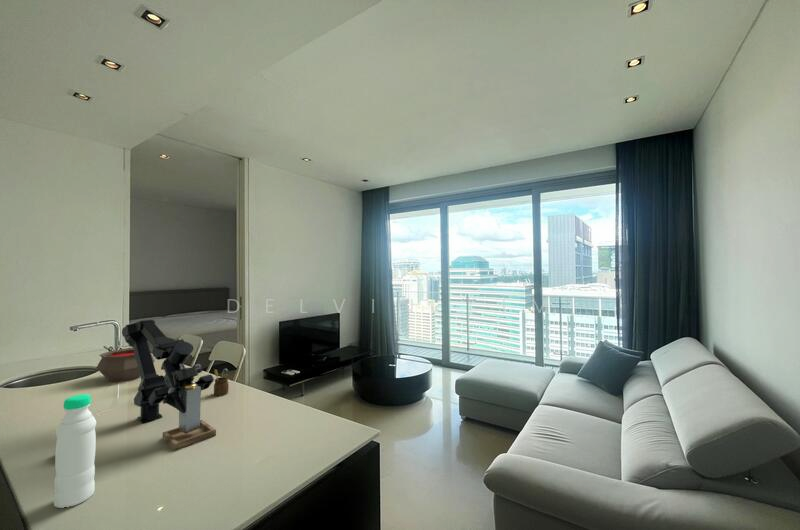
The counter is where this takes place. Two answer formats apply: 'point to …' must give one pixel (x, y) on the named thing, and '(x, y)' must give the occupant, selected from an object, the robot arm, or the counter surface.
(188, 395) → the grey tall block
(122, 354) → the brown pot
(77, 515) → the counter surface
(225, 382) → the utensil holder
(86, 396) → the white milk bottle
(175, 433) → the tray
